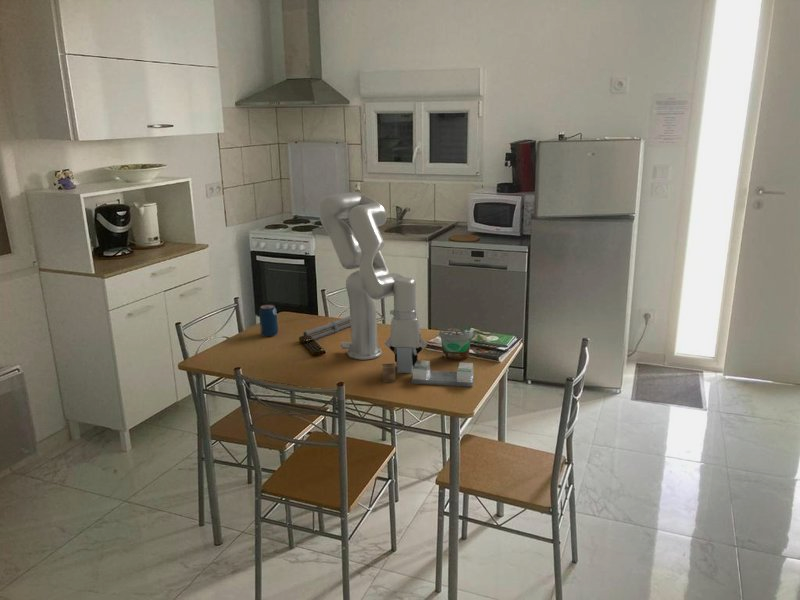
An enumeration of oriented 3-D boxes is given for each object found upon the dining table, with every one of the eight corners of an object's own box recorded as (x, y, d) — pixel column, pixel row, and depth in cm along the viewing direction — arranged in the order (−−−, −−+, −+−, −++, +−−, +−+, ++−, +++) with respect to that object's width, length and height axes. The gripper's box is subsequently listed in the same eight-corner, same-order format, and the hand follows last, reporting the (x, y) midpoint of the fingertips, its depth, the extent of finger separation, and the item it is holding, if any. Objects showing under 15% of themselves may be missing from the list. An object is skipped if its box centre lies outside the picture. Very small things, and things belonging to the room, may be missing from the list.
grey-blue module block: (397, 372, 225) (396, 347, 222) (401, 364, 231) (400, 340, 229) (411, 373, 224) (411, 347, 221) (415, 365, 230) (414, 340, 228)
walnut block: (383, 382, 217) (382, 368, 215) (382, 377, 221) (382, 363, 219) (395, 381, 217) (394, 367, 216) (394, 377, 221) (394, 363, 220)
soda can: (282, 333, 267) (279, 305, 264) (270, 338, 261) (267, 309, 258) (269, 330, 271) (267, 303, 267) (257, 335, 265) (254, 307, 262)
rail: (411, 383, 215) (411, 368, 214) (415, 373, 223) (415, 359, 221) (472, 386, 211) (472, 371, 210) (474, 377, 219) (474, 362, 218)
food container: (439, 362, 233) (439, 335, 230) (438, 355, 239) (438, 329, 236) (474, 361, 232) (474, 335, 230) (472, 355, 238) (473, 329, 236)
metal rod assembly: (308, 344, 255) (307, 332, 253) (303, 342, 256) (302, 330, 255) (353, 327, 274) (353, 315, 272) (349, 325, 275) (348, 314, 274)
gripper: (378, 316, 220) (379, 366, 225) (428, 318, 217) (428, 369, 222) (383, 310, 227) (384, 359, 232) (431, 311, 224) (432, 361, 229)
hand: (406, 363), depth 227 cm, fingers closed on grey-blue module block, 5 cm apart
